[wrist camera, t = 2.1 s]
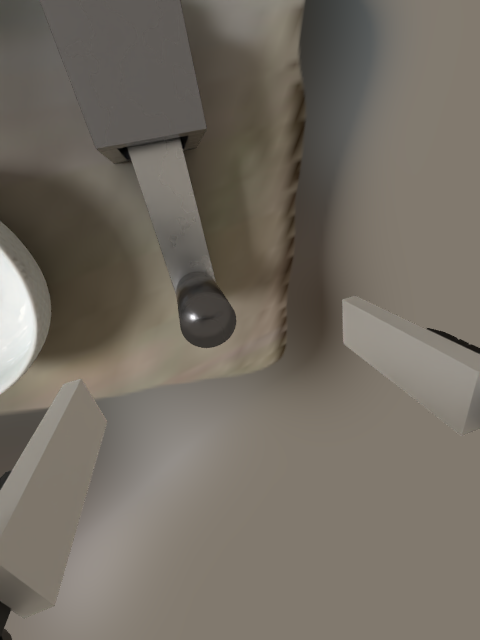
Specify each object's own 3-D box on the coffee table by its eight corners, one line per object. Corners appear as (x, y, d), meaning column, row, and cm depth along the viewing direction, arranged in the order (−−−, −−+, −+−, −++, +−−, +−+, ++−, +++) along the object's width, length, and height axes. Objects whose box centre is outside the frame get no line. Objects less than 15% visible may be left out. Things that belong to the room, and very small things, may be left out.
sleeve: (114, 163, 21) (95, 148, 16) (66, 30, 18) (20, -51, 12) (196, 147, 22) (206, 128, 17) (166, 18, 19) (167, -61, 13)
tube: (181, 302, 26) (189, 354, 17) (72, -28, 16) (-53, -342, 7) (214, 292, 27) (240, 338, 18) (130, -33, 17) (87, -330, 7)
